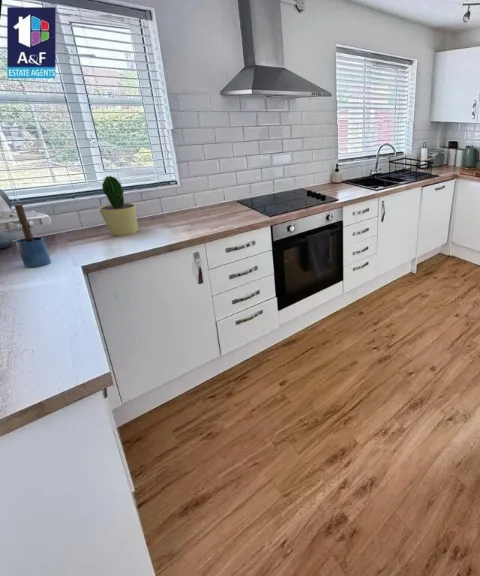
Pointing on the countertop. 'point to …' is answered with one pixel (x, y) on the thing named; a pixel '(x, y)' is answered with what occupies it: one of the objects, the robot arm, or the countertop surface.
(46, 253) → the blue ribbed tumbler
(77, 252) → the countertop surface
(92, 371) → the countertop surface
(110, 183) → the potted cactus
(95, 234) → the countertop surface
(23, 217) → the brush
